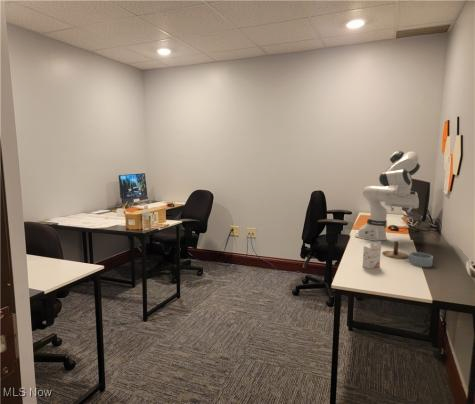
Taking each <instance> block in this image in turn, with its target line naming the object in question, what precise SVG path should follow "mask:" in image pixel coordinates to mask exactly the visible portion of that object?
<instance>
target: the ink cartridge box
mask: <svg viewBox="0 0 475 404" xmlns="http://www.w3.org/2000/svg"><path fill="white" fill-rule="evenodd" d="M381 254H382V240H378V241H374V242H373V241H372V242H370V245H364V246H363V253H362V267H363V268H367V269H375V268H379V267H380V266H381Z"/></svg>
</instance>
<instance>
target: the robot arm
mask: <svg viewBox="0 0 475 404" xmlns="http://www.w3.org/2000/svg"><path fill="white" fill-rule="evenodd" d="M389 161H390V162H391V163H392V164H391V165H390V166H389V167H388V168H387V169H386V170H385V171H382V172H381V173H380V175H379V177H378V180H379V183H380V185H368V186H365V187H364V188H363V191H362V196H363V198H364V199H365V200H366V201H367V202H368V205H369V208H370V216H369V217H370V218H369V217H368V218H367V220H366V223H365V224H363V225H362V226H361V227H359V229H358V231H357V233H355V234H354V237H355V238H358V239H363V240H370V241H374V242H379V241H386V240H388V238H387V230H386V229H387V225H388V220H387V215H388V211H387V210H388V209H387V208H386V207H385V206H387V207H389V208H390V212H394V209H395V207H396V208H405V209H406V208H407V210H406V213H407V214H410V212H411V211H412V210H413V209H418V208H419V207H420V205H419V204H420V200H419V196H418V192H417V191H413V190H411V189H412V185H413V182H412V181H413V180H412V179H413V178H412V176H413V175H415V174H417V173H418V172H419V170H420V167H421V165H420V163H418V162H419V154H417V152H415V151H407V152H406V153H404V151H401V150H396V151H394V152H393V153H392V154H391V155H390V158H389ZM381 202H383V203H384V206H383V205H382V203H381Z"/></svg>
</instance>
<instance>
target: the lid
mask: <svg viewBox="0 0 475 404" xmlns="http://www.w3.org/2000/svg"><path fill="white" fill-rule="evenodd" d="M381 254H382V255H383V256H384V257H387V258H390V259H394V260H395V259H397V260H406V259H409V254H407V253H405V252H402V251H399V240H398V241H397V240H395V241H394V244H393V250H383V251H381Z"/></svg>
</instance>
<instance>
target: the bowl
mask: <svg viewBox="0 0 475 404" xmlns="http://www.w3.org/2000/svg"><path fill="white" fill-rule="evenodd" d="M408 255H409V258H408V263H409V264H411V265H414V266H416V267H422V268H430V267H433V261H434V255H431V253H430V254H429V253H427V252H426V253H425V252H420V251H417V252H416V251H412V252H409V254H408Z"/></svg>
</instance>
